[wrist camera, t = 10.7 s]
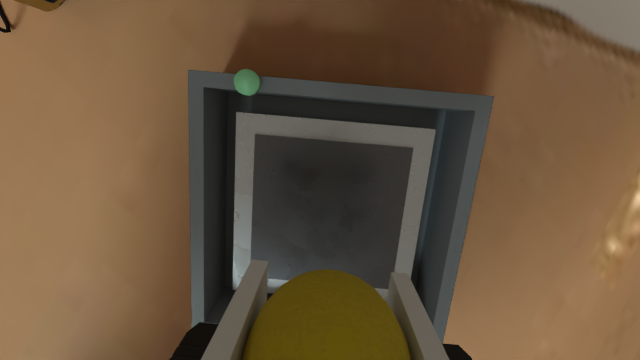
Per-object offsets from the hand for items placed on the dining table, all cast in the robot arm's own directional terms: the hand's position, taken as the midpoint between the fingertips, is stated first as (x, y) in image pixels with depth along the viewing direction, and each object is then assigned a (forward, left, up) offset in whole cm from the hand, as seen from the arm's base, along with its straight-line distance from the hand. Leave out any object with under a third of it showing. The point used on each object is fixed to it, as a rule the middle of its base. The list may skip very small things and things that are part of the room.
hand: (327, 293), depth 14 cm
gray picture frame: (0, 0, -11) cm, 11 cm away
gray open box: (0, 0, -14) cm, 14 cm away
